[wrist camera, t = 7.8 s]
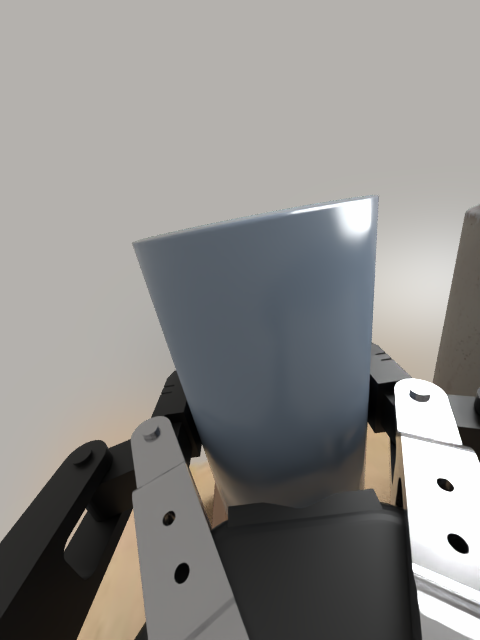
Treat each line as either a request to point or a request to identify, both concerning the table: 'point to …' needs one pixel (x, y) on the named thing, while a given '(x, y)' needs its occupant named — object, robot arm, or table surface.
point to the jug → (273, 344)
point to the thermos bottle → (462, 317)
